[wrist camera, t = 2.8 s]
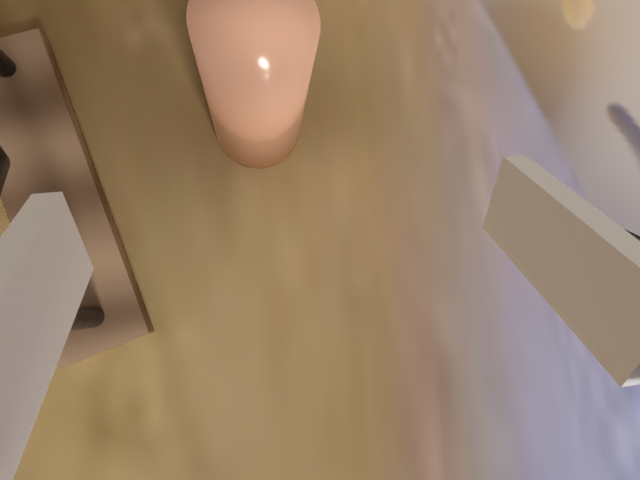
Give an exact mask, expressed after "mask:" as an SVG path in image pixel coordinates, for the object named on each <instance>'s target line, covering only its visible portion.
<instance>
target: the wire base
mask: <svg viewBox="0 0 640 480" xmlns="http://www.w3.org/2000/svg"><path fill="white" fill-rule="evenodd" d="M0 49H1V50H2V51H3V52H4V53H5V54H6V55H7V56H8V57H9V58H10V59H11V60H12V61H13V62H14V63H15V64H16V72H15V73H14V74H13V75H12V76H10V77H1V76H0V145H1V147H2V148H3V150H4V151H5V153H6V154H7V155H8V157H9V159H10V162H11V165H10V168H9V171H8V174H7V177H6V180H5V184H4V187H3V190H2V193H1V198H2V201H3V204H4V207H5V210H6V213H7V216H8V219H9V222H10V223H11V222H12V220H13V219H14V218H15V216H16V215H17V213H18V212H19V211H20V209H21V208H22V206H23V205H24V204H25V202H26V201H27V200H28V198H29V197H30V195H31V194H36V193H49V192H63V195H64V197H65V200H66V202H67V205H68V207H69V209H70V212H71V214H72V217H73V219H74V222H75V224H76V226H77V229H78V231H79V234H80V236H81V238H82V241H83V243H84V246H85V248H86V251H87V253H88V255H89V258H90V260H91V263H92V265H93V267H94V270H93V272H92V275H91V277H90V280H89V283H88V285H87V288H86V290H85V293H84V296H83V298H82V301H81V304H80V306H79V307H81V306H96V307H99V308H101V309H102V310H103V312H104V321H103V322H102V324H101V325H99V326H98V327H94V328H88V329H81V330H74V331H70V332H69V335H68V338H67V340H66V343H65V345H64V348H63V351H62V353H61V356H60V358H59V361H58V365H59V368H62V367H65V366H69V365H71V364H74V363H76V362H79V361H81V360H84V359H86V358H89V357H91V356H94V355H96V354H98V353H101V352H103V351H106V350H108V349H111V348H113V347H116V346H118V345H121V344H123V343H126V342H128V341H131V340H133V339H136V338H138V337H141V336H143V335H146V334H148V333H151V332H153V331H154V330H153V327H152V324H151V321H150V319H149V316H148V313H147V311H146V308H145V305H144V302H143V300H142V297H141V294H140V291H139V289H138V286H137V283H136V280H135V278H134V275H133V272H132V269H131V267H130V264H129V261H128V258H127V256H126V253H125V250H124V247H123V245H122V242H121V239H120V236H119V234H118V231H117V228H116V226H115V223H114V220H113V217H112V215H111V212H110V209H109V206H108V204H107V201H106V198H105V195H104V193H103V190H102V187H101V184H100V182H99V179H98V176H97V173H96V171H95V168H94V165H93V162H92V160H91V157H90V154H89V151H88V149H87V146H86V143H85V141H84V138H83V135H82V132H81V130H80V127H79V124H78V121H77V119H76V116H75V113H74V110H73V108H72V105H71V102H70V99H69V97H68V94H67V91H66V88H65V86H64V83H63V80H62V77H61V75H60V72H59V69H58V66H57V64H56V61H55V58H54V56H53V53H52V50H51V47H50V45H49V42H48V40H47V38H46V37H45V36H44V35H43V33H42V32H41V31H40V30H39V28H36V29H32V30H28V31H24V32H20V33H16V34H12V35H8V36H4V37H1V38H0Z"/></svg>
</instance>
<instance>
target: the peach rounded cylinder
mask: <svg viewBox="0 0 640 480" xmlns="http://www.w3.org/2000/svg"><path fill="white" fill-rule="evenodd" d="M186 23H187V29H188V33H189V37H190V41H191V44H192V48H193V52H194V55H195V59H196V63H197V66H198V70H199V74H200V77H201V81H202V85H203V88H204V92H205V96H206V99H207V103H208V107H209V111H210V114H211V118H212V122H213V125H214V129H215V133H216V136H217V140H218V142H219V144H220V147H221V148H222V150H223V151H224V152H225V153H226V155H227V156H228V157H230V158H231V159H232V160H234V161H235V162H237V163H239V164H241V165H243V166H246V167H250V168H266V167H270V166H274V165H276V164H278V163H280V162H281V161H283V160H284V159H285V158H287V157H288V156H289V155H290V153H291V152H292V151H293V149H294V147H295V145H296V142H297V138H298V134H299V129H300V125H301V120H302V115H303V111H304V106H305V101H306V97H307V92H308V87H309V83H310V78H311V74H312V69H313V64H314V60H315V55H316V50H317V46H318V41H319V37H320V28H321V24H320V16H319V11H318V8H317V5H316V3H315V1H314V0H189V1H188V5H187V11H186Z"/></svg>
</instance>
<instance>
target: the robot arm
mask: <svg viewBox="0 0 640 480" xmlns="http://www.w3.org/2000/svg"><path fill="white" fill-rule="evenodd" d="M483 228H484V229H485V230H486V231H487V233H488V234H489V235H490V236H491V237H492V238H493V240H494V241H495V242H496V243H497V244H498V245H499V246H500V248H501V249H502V250H503V251H504V252H505V253H506V255H507V256H508V257H509V258H510V259H511V260H512V262H513V263H514V264H515V265H516V266H517V267H518V268H519V270H520V271H521V272H522V273H523V274H524V275H525V277H526V278H527V279H528V280H529V281H530V282H531V283H532V285H533V286H534V287H535V288H536V289H537V290H538V292H539V293H540V294H541V295H542V296H543V297H544V298H545V300H546V301H547V302H548V303H549V304H550V305H551V307H552V308H553V309H554V310H555V311H556V312H557V314H558V315H559V316H560V317H561V318H562V319H563V320H564V322H565V323H566V324H567V325H568V326H569V327H570V329H571V330H572V331H573V332H574V333H575V334H576V335H577V337H578V338H579V339H580V340H581V341H582V342H583V344H584V345H585V346H586V347H587V348H588V349H589V350H590V352H591V353H592V354H593V355H594V356H595V357H596V359H597V360H598V361H599V362H600V363H601V364H602V366H603V367H604V368H605V369H606V370H607V371H608V372H609V374H610V375H611V376H612V377H613V378H614V379H615V381H616V382H617V383H618V384H619V385H620V386H621V387H626V386H631V385H637V384H640V236H638V235H636V234H634V233H631V232H629V231H627V230H625V229H623V228H622V227H621V226H619V225H618V224H617V223H615V222H614V221H612V220H611V219H610V218H608V217H607V216H606V215H604V214H603V213H602V212H601V211H599V210H598V209H596V208H595V207H594V206H593V205H591V204H590V203H589V202H587V201H586V200H585V199H583V198H582V197H581V196H579V195H578V194H577V193H575V192H574V191H573V190H571V189H570V188H569V187H567V186H566V185H565V184H563V183H562V182H561V181H559V180H558V179H557V178H555V177H554V176H553V175H551V174H550V173H549V172H547V171H546V170H545V169H543V168H542V167H541V166H539V165H538V164H537V163H536V162H534V161H533V160H532V159H530V158H529V157H528V156H526V155H517V156H505V157H503V160H502V164H501V167H500V170H499V174H498V177H497V181H496V184H495V188H494V191H493V195H492V198H491V201H490V205H489V208H488V212H487V215H486V219H485V222H484V225H483ZM93 270H94V267H93V265H92V263H91V260H90V258H89V255H88V253H87V251H86V248H85V246H84V243H83V241H82V238H81V236H80V234H79V231H78V229H77V226H76V224H75V222H74V219H73V217H72V214H71V212H70V209H69V207H68V205H67V202H66V200H65V197H64V195H63V192H49V193H36V194H31V195H30V197H29V198H28V200H27V201H26V202H25V204H24V205H23V206H22V208H21V209H20V211H19V212H18V213H17V215H16V216H15V218H14V219H13V220H12V222H11V223H10V224H9V226H8V227H7V229H6V230H5V231H4V233H3V234H2V235H1V237H0V480H13V479H14V476H15V474H16V471H17V468H18V466H19V463H20V460H21V458H22V455H23V453H24V450H25V447H26V445H27V442H28V440H29V437H30V434H31V432H32V429H33V426H34V424H35V421H36V419H37V416H38V413H39V411H40V408H41V406H42V403H43V400H44V398H45V395H46V392H47V390H48V387H49V385H50V382H51V379H52V377H53V374H54V372H55V369H56V366H57V364H58V361H59V358H60V356H61V353H62V351H63V348H64V345H65V343H66V340H67V338H68V335H69V332H70V330H71V327H72V324H73V322H74V319H75V317H76V314H77V311H78V309H79V306H80V304H81V301H82V298H83V296H84V293H85V290H86V288H87V285H88V283H89V280H90V277H91V275H92V272H93Z"/></svg>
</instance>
